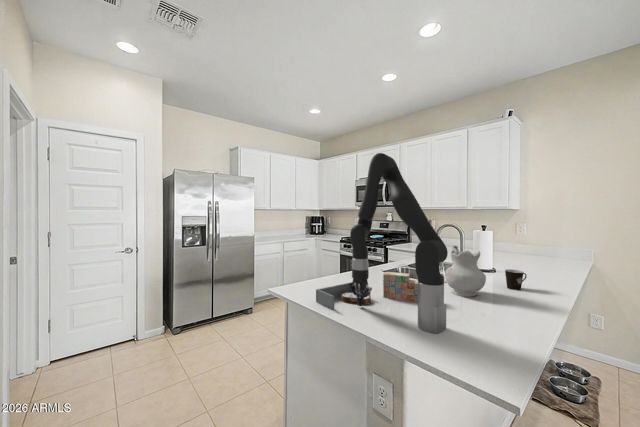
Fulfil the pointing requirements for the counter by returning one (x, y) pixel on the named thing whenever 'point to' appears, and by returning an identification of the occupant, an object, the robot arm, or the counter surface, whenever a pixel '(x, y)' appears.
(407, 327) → the counter surface
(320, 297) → the box
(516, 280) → the coffee mug
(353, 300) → the digital alarm clock
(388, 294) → the stack of blocks
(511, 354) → the counter surface
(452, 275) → the ceramic pitcher
